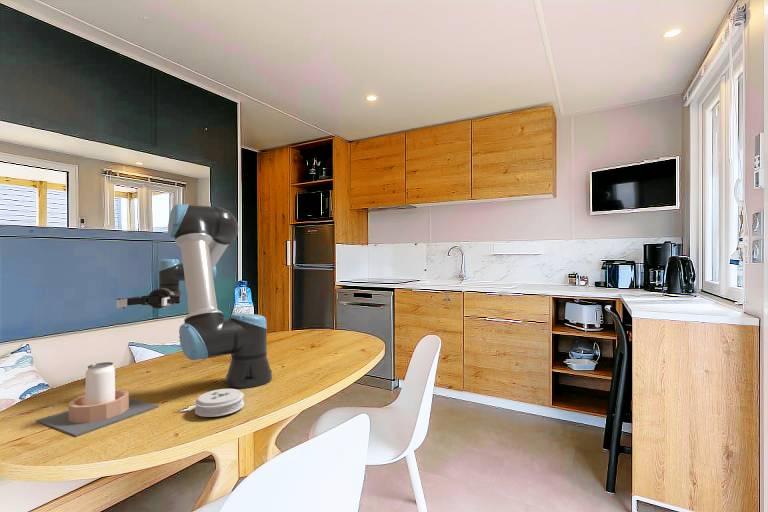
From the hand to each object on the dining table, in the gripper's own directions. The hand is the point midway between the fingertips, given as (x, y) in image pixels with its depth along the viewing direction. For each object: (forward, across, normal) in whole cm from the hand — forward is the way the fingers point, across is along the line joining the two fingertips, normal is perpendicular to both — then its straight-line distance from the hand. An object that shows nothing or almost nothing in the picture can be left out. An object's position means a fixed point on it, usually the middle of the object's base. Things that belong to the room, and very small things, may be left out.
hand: (140, 303), depth 127 cm
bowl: (+24, +2, -28) cm, 37 cm away
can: (+25, +1, -27) cm, 36 cm away
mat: (+24, +2, -28) cm, 37 cm away
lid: (+31, -30, -29) cm, 52 cm away
